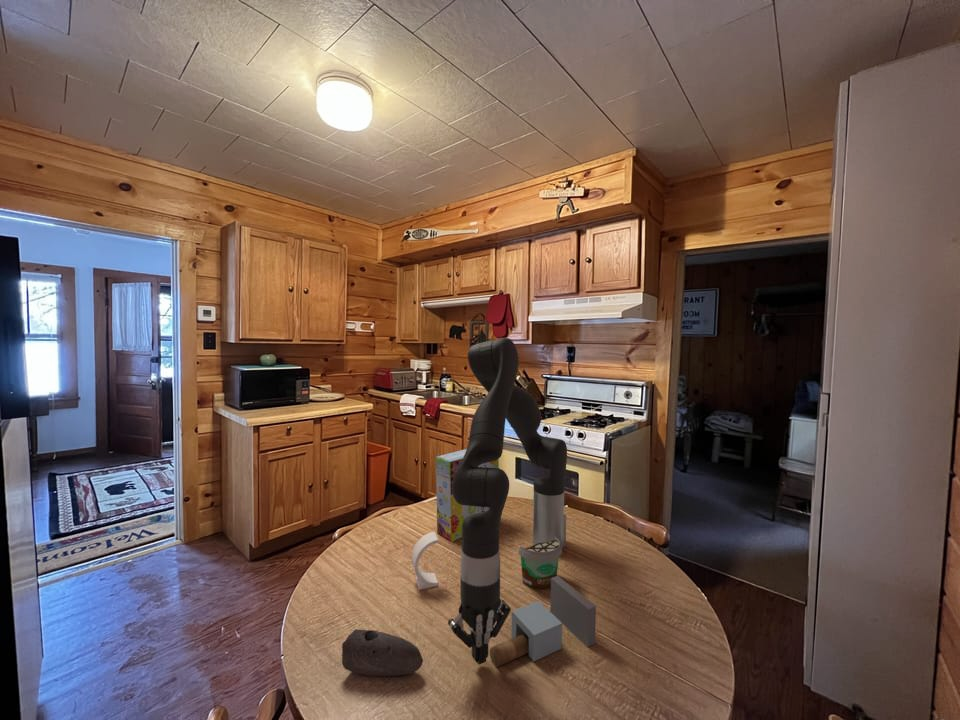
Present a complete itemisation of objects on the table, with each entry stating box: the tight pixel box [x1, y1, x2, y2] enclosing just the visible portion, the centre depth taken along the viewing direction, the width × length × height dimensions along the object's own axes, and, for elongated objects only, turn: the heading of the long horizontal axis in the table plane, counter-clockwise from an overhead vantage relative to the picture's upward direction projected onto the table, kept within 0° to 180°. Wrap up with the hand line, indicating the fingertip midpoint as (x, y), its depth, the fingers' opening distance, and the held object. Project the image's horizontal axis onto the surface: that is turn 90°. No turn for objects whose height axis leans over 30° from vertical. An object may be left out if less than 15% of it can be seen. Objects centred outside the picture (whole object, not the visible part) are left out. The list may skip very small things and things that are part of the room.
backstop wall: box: [549, 575, 597, 648], centre depth 86 cm, size 2×12×8 cm, turn 29°
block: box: [511, 600, 563, 662], centre depth 82 cm, size 7×8×5 cm
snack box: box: [435, 448, 500, 543], centre depth 132 cm, size 22×9×26 cm, turn 133°
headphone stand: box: [411, 531, 439, 591], centre depth 101 cm, size 5×6×12 cm
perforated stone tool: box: [341, 629, 424, 677], centre depth 74 cm, size 15×5×7 cm, turn 83°
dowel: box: [489, 633, 529, 668], centre depth 78 cm, size 8×3×3 cm, turn 119°
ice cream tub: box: [518, 536, 563, 591], centre depth 101 cm, size 12×6×10 cm, turn 117°
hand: (479, 660), depth 75 cm, fingers closed
